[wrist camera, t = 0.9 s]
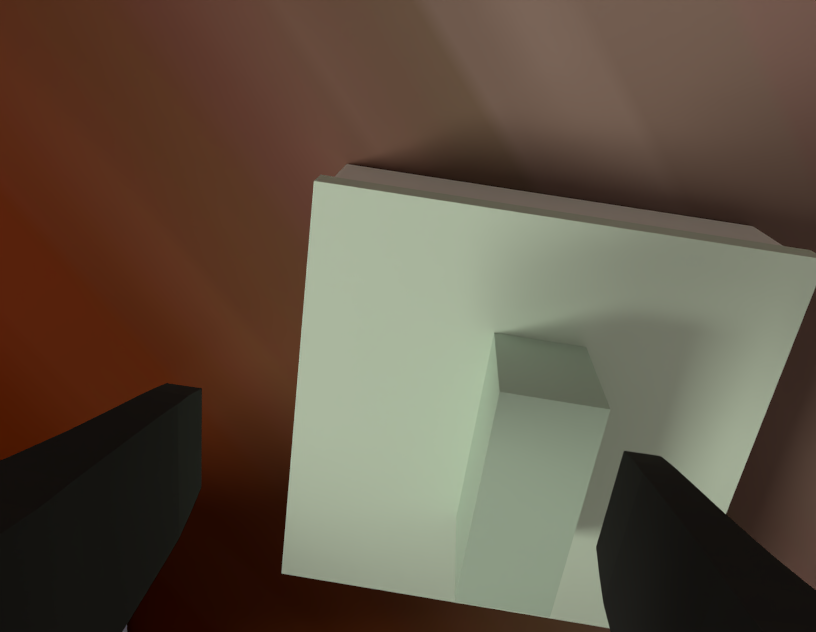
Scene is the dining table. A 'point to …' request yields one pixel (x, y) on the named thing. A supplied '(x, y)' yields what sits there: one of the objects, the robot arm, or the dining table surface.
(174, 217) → the dining table surface
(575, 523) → the lid
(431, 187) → the box
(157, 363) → the dining table surface
